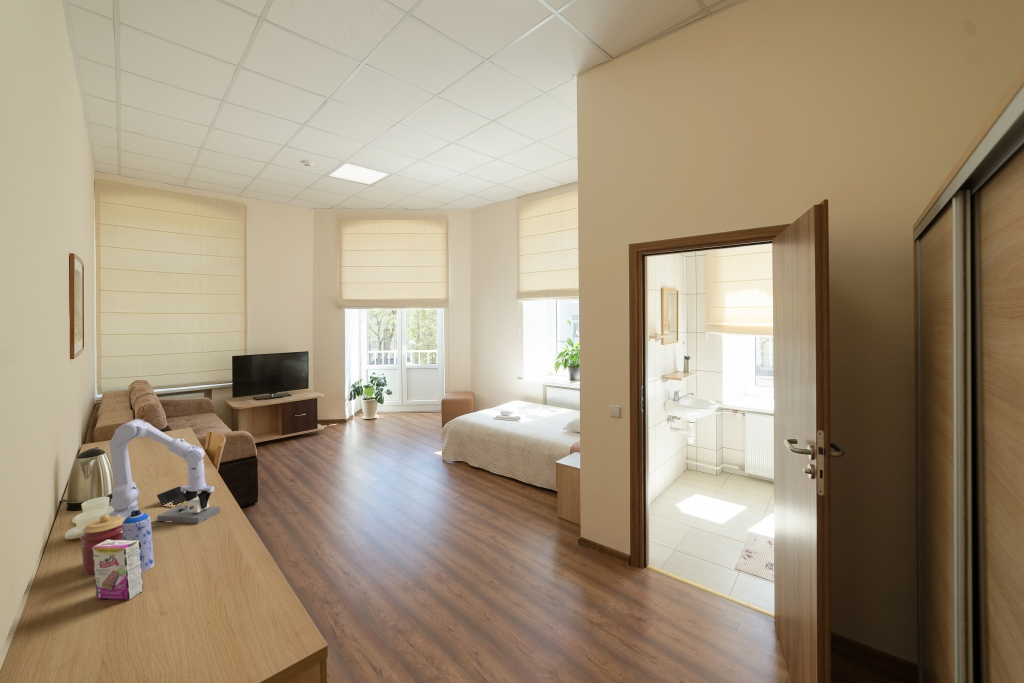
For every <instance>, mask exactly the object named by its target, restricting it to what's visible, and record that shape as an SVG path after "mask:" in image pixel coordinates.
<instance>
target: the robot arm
mask: <svg viewBox="0 0 1024 683" xmlns="http://www.w3.org/2000/svg"><path fill="white" fill-rule="evenodd" d="M135 437H136V438H137V439H138V438H139V439H140V438H149V439H152V440H154V441H156V442H158V443H160V444H162V445H165V446H167V450H168V451H169V452H171V453H172V454H175V455H176V456H179V457H180V458H182V459H183V460H184V462H185V463H186V464H187V475H188V476H187V477H188V484H187V485H183V486H180V487H181V492H183V491H184V494H183V496H184V497H185V498H186V499H187V502H188V501H190V500H192V499H194V498H196V497H198V498H199V500H200V505H201V509H204V508H206V507H207V503H208V500H209V499H210V497H211V494H212V493H213V492H215V486H212V485H210V484H209V485H208V484H207V483H206V475H205V474H206V472H205V471H206V470H205V463H204V461H205V460H204V457H205V455H206V452H205V450H204V448H202V446H196V445H194V444H193V445H192V444H191V443H189V442H187V441H186V439H184V438H179V437H177V438H173V437H171V436H170V435H168V434H167V433H165V432H163V431H162V430H159V429H158V428H156V427H155V426H153V425H152V424H151V423H150V422H147V421H145V420H143V419H140V418H134V419H132V420H131V421H129V422H126V423H123V424H121V425H120V426H119V427H117V428H116V429H115V430H114V434H113V435H112V437H111V440H110V441H109V450H110V457H111V458H110V459H111V464H112V471H113V472H112V473H113V478H114V480H113V481H114V488H113V491H112V495H111V496H112V498H111V500H110V506H111V507H112V508H113V509H114V510H113V511H112V512H110V513H108V515H109V516H110V517H111V516H120V517H124V518H127V517H129V516H130V515H131V511H134V510H139V505H138V498H139V497H140V491H139V490H140V489H138V488H137V484H136V482H135V481H133V476H132V470H131V463H130V453H129V447H128V443H130V442H132V440H133V439H134V438H135ZM198 492H199V493H198Z"/></svg>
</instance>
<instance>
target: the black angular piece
mask: <svg viewBox="0 0 1024 683" xmlns="http://www.w3.org/2000/svg"><path fill="white" fill-rule="evenodd" d="M181 487H182V486H177V487H174V488H171V489H169V490H166V491H164V492H163V491H162V492H161V493H159V494H157V495H156V497H157V499H158V500H159V502H160V504H161V505H162V506H163V505H165V504H167V503H169V502H172V501H173V502H172V503H173V505H177V504H179V503H182V502H184V501H187V499H186V498H185V497H184V496H183V494H184V493H185V491H183V492H181ZM187 502H188V501H187ZM182 504H183V503H182ZM170 505H171V504H170Z"/></svg>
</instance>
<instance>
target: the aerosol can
mask: <svg viewBox="0 0 1024 683" xmlns="http://www.w3.org/2000/svg"><path fill="white" fill-rule="evenodd" d="M151 521H152V519H151V517H150V515H149V514H147V513H146V512H145V513H144V512H141V510H140V509H138V510H134V511H131V515H130V516H129V517H127V518H126V519H125V520H124V521H123V522H122V533H123V540H137V541H139V546H140V559H141V571H142V573H144V572H143V571H145V572H147V571H149V570H151V569H152V568H154V567H153V566H155V565H154V564H156V563H155V557H154V545H153V534H152V522H151ZM150 568H151V569H150ZM148 569H149V570H148ZM146 570H147V571H146Z"/></svg>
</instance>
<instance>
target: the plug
mask: <svg viewBox="0 0 1024 683" xmlns="http://www.w3.org/2000/svg"><path fill="white" fill-rule="evenodd" d="M187 505H188V512H194V513H195V514H196V512H197V513H198V514H200V513H202V512H203V511H202V510H204V509H206V508H208V507H209V499H208V503H207V507H206V508H204V509H201V505H200V500H199V498H198V496H197V497H196V498H194V499H192V500H190V501H187Z"/></svg>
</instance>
